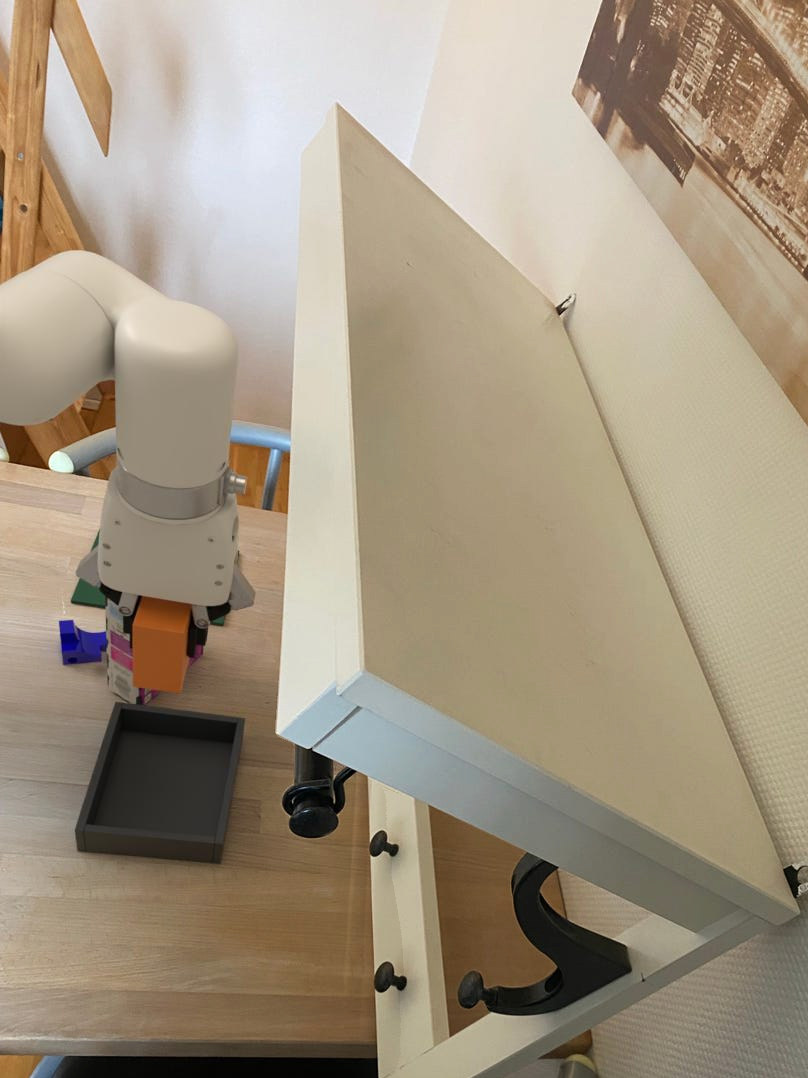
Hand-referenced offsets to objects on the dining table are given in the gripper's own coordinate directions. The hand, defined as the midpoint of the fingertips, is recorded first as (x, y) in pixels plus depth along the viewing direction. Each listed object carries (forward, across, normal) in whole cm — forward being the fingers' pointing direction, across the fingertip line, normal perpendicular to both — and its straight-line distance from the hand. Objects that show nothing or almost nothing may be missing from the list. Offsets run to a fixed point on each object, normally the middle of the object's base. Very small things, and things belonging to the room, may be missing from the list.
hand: (165, 640), depth 74 cm
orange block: (+3, 0, 0) cm, 3 cm away
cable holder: (+23, +10, -17) cm, 31 cm away
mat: (+23, +6, -31) cm, 39 cm away
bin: (+23, -1, +1) cm, 23 cm away
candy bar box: (+23, +3, -15) cm, 28 cm away
